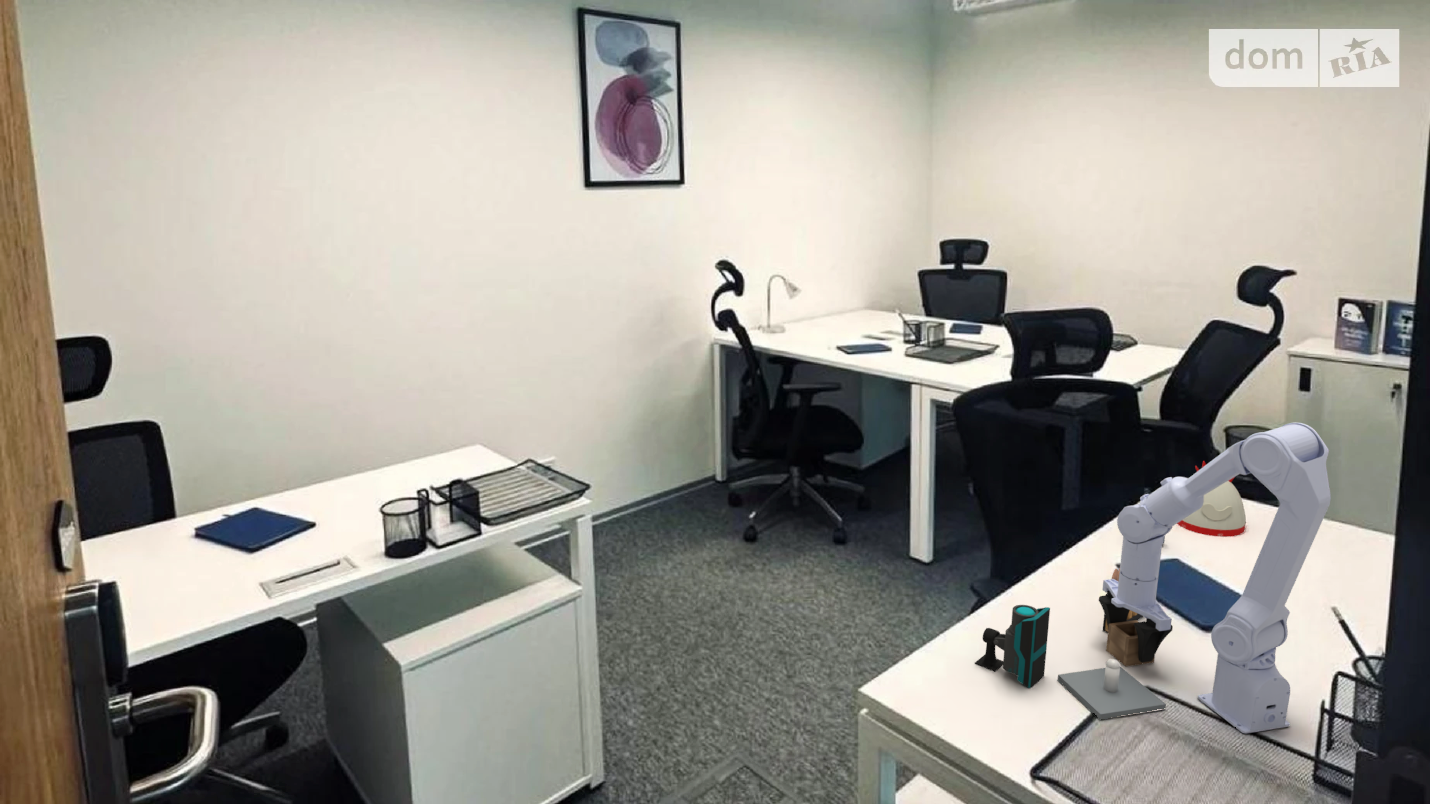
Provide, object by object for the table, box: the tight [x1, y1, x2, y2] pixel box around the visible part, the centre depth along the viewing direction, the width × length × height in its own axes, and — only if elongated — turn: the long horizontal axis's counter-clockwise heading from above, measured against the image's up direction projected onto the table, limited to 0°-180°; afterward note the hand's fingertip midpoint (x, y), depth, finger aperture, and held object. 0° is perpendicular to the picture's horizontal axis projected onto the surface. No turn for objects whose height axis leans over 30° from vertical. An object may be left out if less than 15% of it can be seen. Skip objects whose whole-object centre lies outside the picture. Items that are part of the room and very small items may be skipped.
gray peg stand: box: [1057, 658, 1167, 720], centre depth 139 cm, size 11×11×6 cm
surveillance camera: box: [974, 604, 1051, 689], centre depth 145 cm, size 6×12×10 cm
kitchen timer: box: [1177, 460, 1247, 538], centre depth 201 cm, size 14×14×15 cm
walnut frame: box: [1105, 620, 1156, 668], centre depth 149 cm, size 5×5×5 cm
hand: (1130, 648), depth 150 cm, fingers open, 7 cm apart
